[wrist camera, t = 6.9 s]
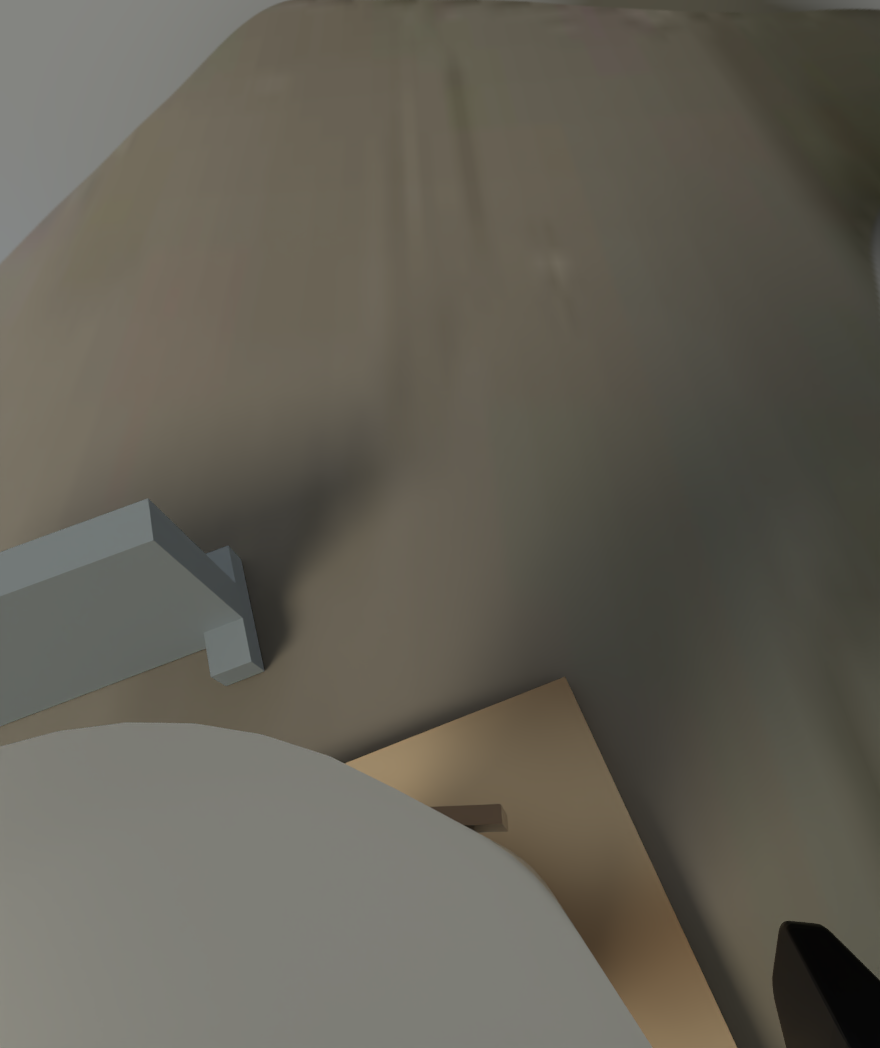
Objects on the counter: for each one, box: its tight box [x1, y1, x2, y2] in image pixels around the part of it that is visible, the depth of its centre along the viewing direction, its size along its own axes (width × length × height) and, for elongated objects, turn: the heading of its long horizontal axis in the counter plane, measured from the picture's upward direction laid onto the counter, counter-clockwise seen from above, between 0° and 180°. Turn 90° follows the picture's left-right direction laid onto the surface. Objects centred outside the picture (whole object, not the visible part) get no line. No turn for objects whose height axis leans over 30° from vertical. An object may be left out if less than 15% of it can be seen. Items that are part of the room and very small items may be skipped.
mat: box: [344, 677, 737, 1048], centre depth 14 cm, size 10×10×1 cm
